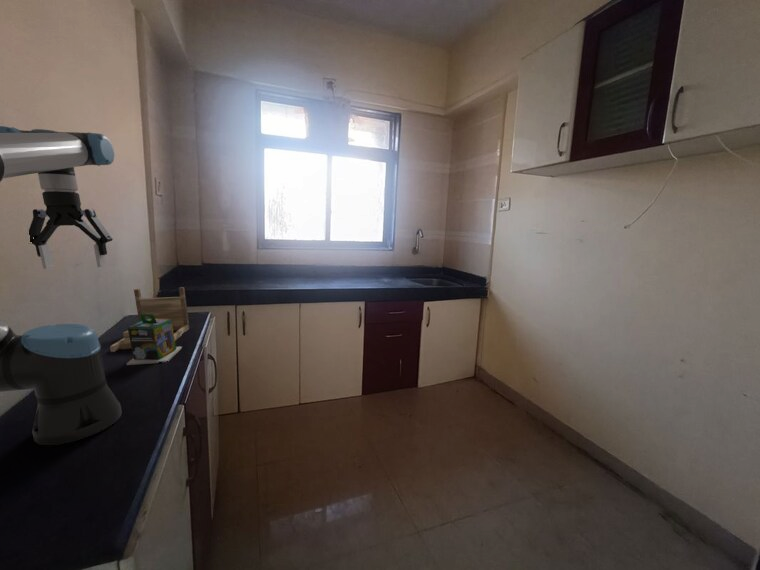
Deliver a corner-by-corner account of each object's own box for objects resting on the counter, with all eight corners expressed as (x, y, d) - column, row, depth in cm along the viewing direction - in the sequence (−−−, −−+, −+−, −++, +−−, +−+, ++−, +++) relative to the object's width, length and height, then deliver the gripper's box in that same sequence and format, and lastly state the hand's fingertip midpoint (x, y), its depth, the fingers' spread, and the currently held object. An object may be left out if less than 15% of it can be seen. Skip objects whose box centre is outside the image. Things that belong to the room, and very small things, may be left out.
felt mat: (167, 362, 109) (167, 360, 109) (126, 365, 107) (126, 363, 107) (181, 348, 121) (181, 346, 121) (145, 350, 119) (145, 348, 119)
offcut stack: (162, 346, 122) (160, 331, 121) (120, 349, 120) (117, 333, 119) (168, 342, 127) (166, 327, 126) (127, 344, 124) (124, 329, 123)
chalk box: (177, 349, 118) (171, 309, 115) (158, 360, 109) (152, 317, 106) (152, 348, 119) (146, 309, 116) (132, 359, 110) (124, 317, 107)
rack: (166, 348, 121) (159, 300, 117) (110, 351, 118) (101, 302, 114) (189, 328, 142) (184, 287, 138) (142, 331, 139) (135, 289, 135)
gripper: (118, 192, 98) (130, 263, 102) (19, 192, 94) (36, 266, 98) (102, 190, 91) (116, 267, 95) (-6, 190, 86) (13, 270, 91)
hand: (75, 267), depth 97 cm, fingers open, 13 cm apart
